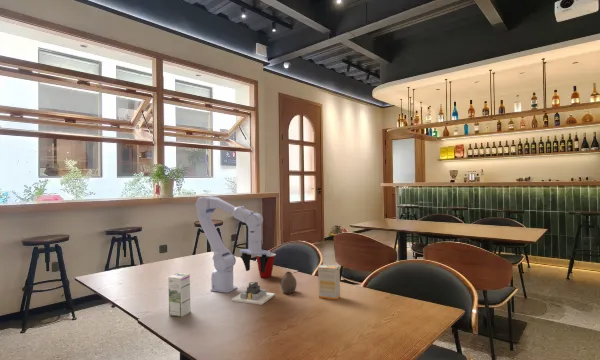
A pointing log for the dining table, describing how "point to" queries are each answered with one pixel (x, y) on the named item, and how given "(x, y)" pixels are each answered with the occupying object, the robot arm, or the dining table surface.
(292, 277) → the vase
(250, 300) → the hub panel
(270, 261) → the plastic cup
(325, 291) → the supplement box
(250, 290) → the knob
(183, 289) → the syrup box
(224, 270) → the robot arm
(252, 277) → the dining table surface
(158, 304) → the dining table surface
